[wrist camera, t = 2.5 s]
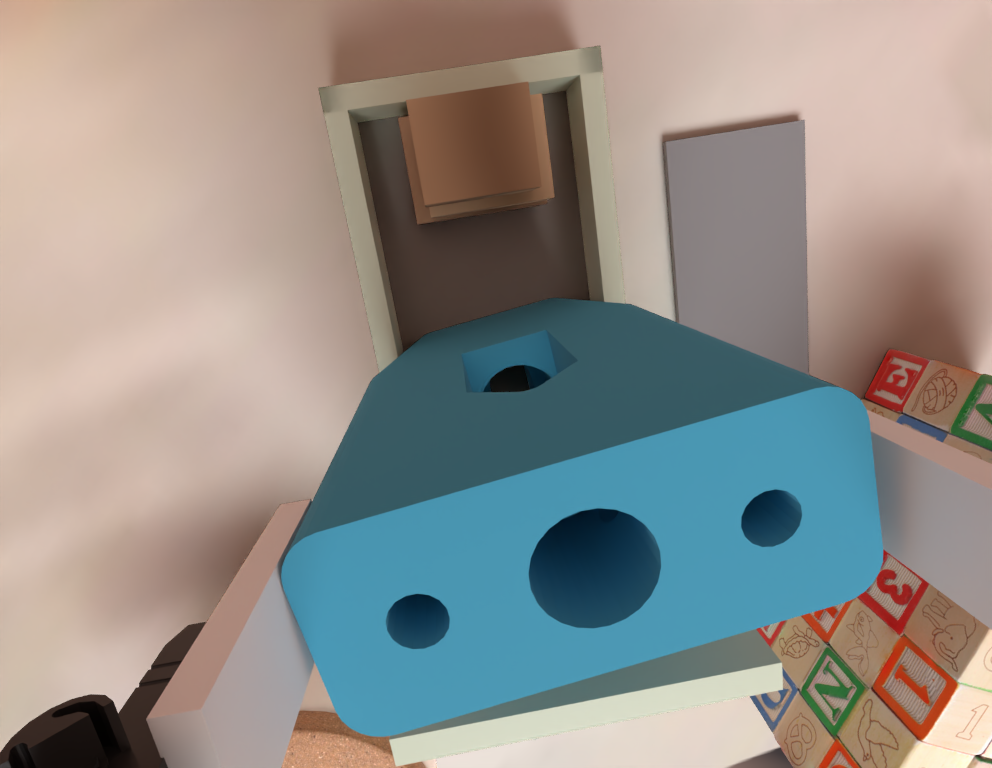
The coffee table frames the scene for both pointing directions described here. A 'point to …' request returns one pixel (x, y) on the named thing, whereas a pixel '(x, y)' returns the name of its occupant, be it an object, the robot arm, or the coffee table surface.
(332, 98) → the frame
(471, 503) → the block
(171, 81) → the coffee table surface
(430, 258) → the coffee table surface
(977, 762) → the stack of blocks
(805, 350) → the felt mat
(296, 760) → the lidded bowl
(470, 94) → the offcut stack
